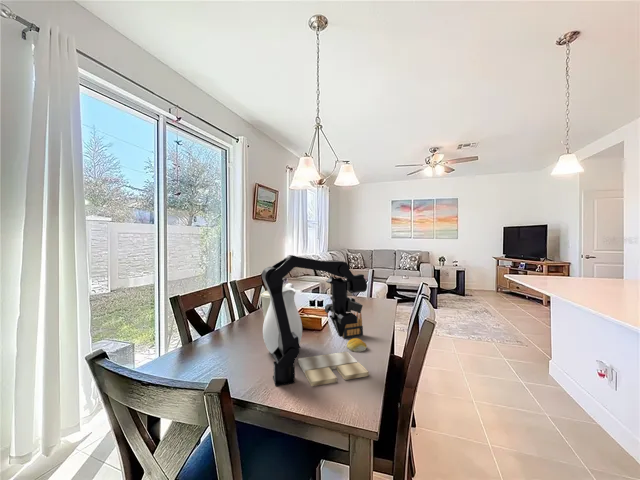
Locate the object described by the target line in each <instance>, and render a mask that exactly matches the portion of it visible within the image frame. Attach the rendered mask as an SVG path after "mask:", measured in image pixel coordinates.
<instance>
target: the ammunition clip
mask: <svg viewBox="0 0 640 480" xmlns="http://www.w3.org/2000/svg"><path fill="white" fill-rule="evenodd" d="M353 314H354V315H356V316H357V317H358V323H355V324H346V327H345V330H344V333H343V336H342V337H341V338H342V339H343V340H346V339H353V338H358V337H362V336H364V329H363V328H364V326H363V319H362V318H363V317H362V312H361V313H358V312H356V313H355V311H353Z"/></svg>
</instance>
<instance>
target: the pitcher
mask: <svg viewBox="0 0 640 480" xmlns="http://www.w3.org/2000/svg"><path fill="white" fill-rule="evenodd" d="M266 291H268V290H266ZM268 293H269V292H268ZM282 295H283V299H284V303H285V308H286V312H287V316H288V321H289V325H290V330H291V332H294V333H295V334H296V335H297V336H298V339H299V345H300V343H301V341H302V336H303V324H302V323H303V322H302V318H301V315H300V313H299V310H298V308H297V305H296V302H295V296H296V289H295V287H294V284H293V283H286V285H285V286H283V289H282ZM263 320H264V321H263V325H262V337H263V341H264V345H265V347H266V349H267V350H268V352H269V354H271V355H272V353H273V352H274V351H275V350H276V349H277V348H278V336H279V331H278V327H277V322H276V318H275V314H274V310H273V305H272V301H271V297H270V305H269V308H268V311H267V314H266V316H265V319H264V318H263Z"/></svg>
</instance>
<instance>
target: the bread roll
mask: <svg viewBox="0 0 640 480" xmlns="http://www.w3.org/2000/svg"><path fill="white" fill-rule="evenodd" d="M367 345H368V344H366V342H364V341H363V339H360V338H358V337H353V338H350V339H349V340H348V341H347V343H346V346H347V347H346V348H347V349H348V350H349V351H351V352H355V353H358V352H359V353H360V352H364V351H366V349H367V347H368V346H367Z"/></svg>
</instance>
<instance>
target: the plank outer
mask: <svg viewBox="0 0 640 480" xmlns="http://www.w3.org/2000/svg"><path fill="white" fill-rule="evenodd" d="M336 371H337V372H338V373H339V374H340V376H341V377H342V378H343V380H344V381H347V380H348V381H349V380H352V379H353V380H354V379H358V378H365V377H366V378H367V377H369V376H370V373H369V371H368V369H366V368H365V367H364V366H363V365H362V364H361V363H360V362H358V363H352V364H346V365H340V366H337V369H336Z"/></svg>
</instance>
